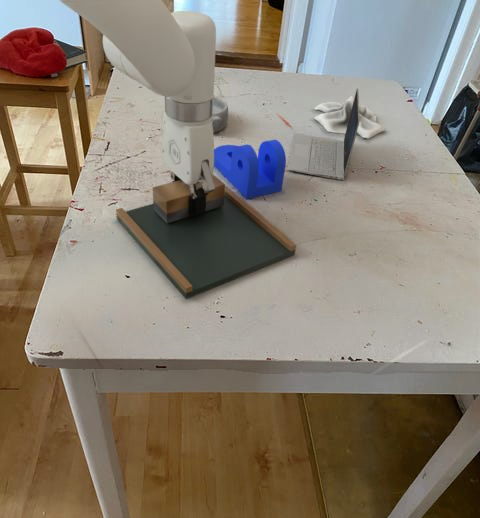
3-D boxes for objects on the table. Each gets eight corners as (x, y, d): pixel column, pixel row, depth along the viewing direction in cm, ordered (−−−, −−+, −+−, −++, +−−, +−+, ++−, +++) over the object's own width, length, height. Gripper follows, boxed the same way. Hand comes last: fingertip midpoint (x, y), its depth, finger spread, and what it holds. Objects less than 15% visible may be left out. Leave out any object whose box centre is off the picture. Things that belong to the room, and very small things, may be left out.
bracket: (281, 190, 97) (288, 149, 90) (246, 199, 93) (251, 156, 87) (238, 151, 107) (242, 111, 100) (205, 157, 104) (207, 116, 97)
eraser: (167, 223, 83) (166, 201, 80) (153, 209, 86) (152, 187, 82) (223, 205, 88) (225, 184, 85) (209, 192, 91) (210, 171, 88)
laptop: (293, 136, 115) (303, 79, 105) (344, 144, 114) (359, 88, 105) (286, 172, 102) (297, 111, 93) (344, 181, 102) (360, 121, 92)
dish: (226, 138, 111) (227, 117, 107) (167, 133, 110) (166, 111, 107) (228, 112, 121) (229, 92, 117) (174, 107, 120) (173, 87, 117)
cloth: (386, 143, 116) (394, 118, 112) (312, 132, 117) (316, 107, 113) (381, 108, 132) (387, 84, 127) (315, 98, 132) (319, 75, 128)
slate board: (185, 299, 72) (185, 288, 71) (116, 219, 85) (115, 209, 83) (294, 254, 82) (296, 244, 81) (218, 189, 95) (218, 179, 93)
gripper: (142, 90, 76) (148, 189, 90) (197, 133, 67) (195, 237, 80) (182, 83, 80) (183, 180, 93) (240, 123, 71) (231, 224, 84)
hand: (189, 205), depth 87 cm, fingers closed on eraser, 5 cm apart
